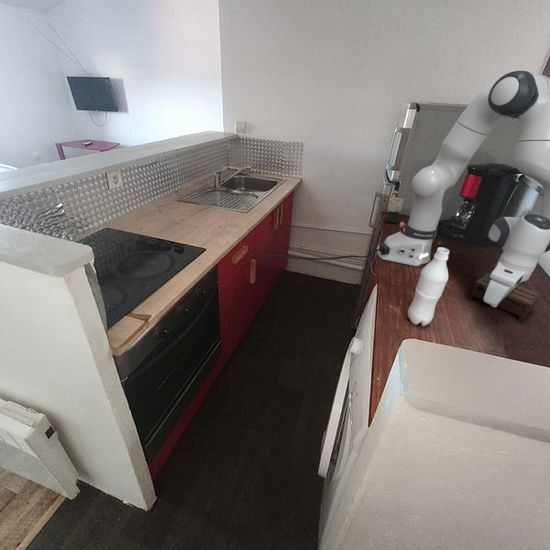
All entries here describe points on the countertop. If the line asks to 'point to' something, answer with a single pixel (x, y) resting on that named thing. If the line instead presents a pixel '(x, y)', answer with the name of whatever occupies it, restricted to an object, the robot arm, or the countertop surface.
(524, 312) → the rack
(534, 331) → the countertop surface
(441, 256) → the water bottle
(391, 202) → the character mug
